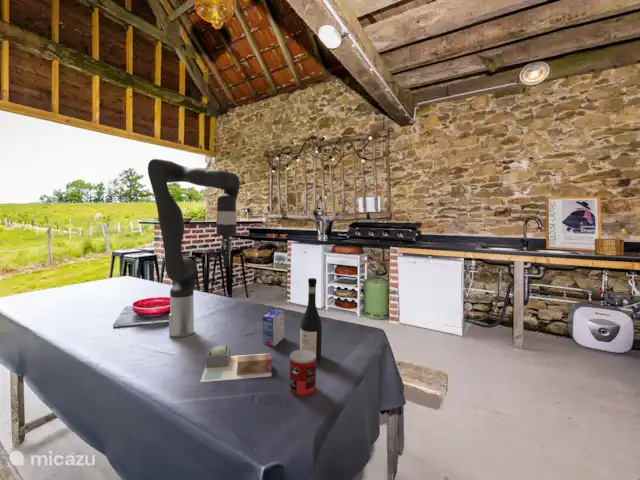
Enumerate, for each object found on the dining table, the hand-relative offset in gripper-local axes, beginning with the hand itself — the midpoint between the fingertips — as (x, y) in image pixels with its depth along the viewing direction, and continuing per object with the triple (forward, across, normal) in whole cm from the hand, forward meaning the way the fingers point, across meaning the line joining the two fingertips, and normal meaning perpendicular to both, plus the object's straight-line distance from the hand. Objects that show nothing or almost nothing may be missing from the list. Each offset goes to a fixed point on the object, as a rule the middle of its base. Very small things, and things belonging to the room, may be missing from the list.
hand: (226, 266), depth 117 cm
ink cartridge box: (+32, 0, +19) cm, 37 cm away
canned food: (+32, +36, +26) cm, 55 cm away
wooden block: (+31, +23, +12) cm, 40 cm away
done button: (+30, +16, -1) cm, 34 cm away
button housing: (+31, +16, -1) cm, 35 cm away
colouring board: (+32, +20, +6) cm, 38 cm away
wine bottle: (+32, +16, +32) cm, 48 cm away
